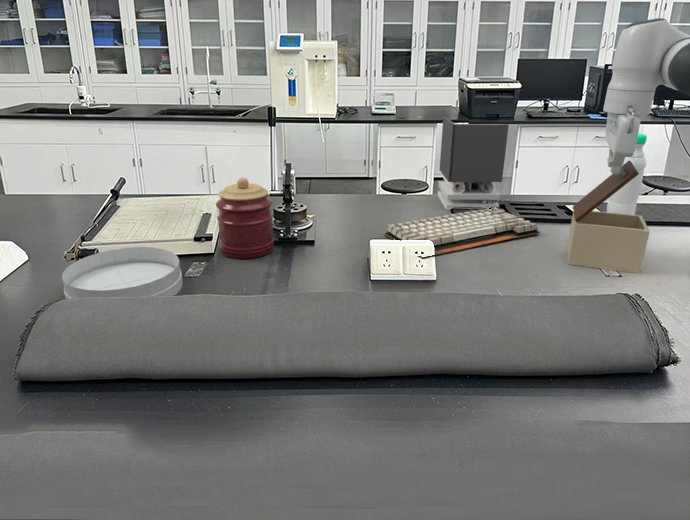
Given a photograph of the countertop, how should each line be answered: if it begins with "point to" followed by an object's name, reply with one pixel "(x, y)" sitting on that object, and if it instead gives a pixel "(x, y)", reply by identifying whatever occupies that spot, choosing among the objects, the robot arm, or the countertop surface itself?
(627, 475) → the countertop surface
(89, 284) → the dish
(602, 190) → the lid
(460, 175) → the electrical transformer
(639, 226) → the box
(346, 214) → the countertop surface
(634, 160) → the water bottle
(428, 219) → the mechanical keyboard
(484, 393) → the countertop surface
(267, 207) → the kitchen canister
